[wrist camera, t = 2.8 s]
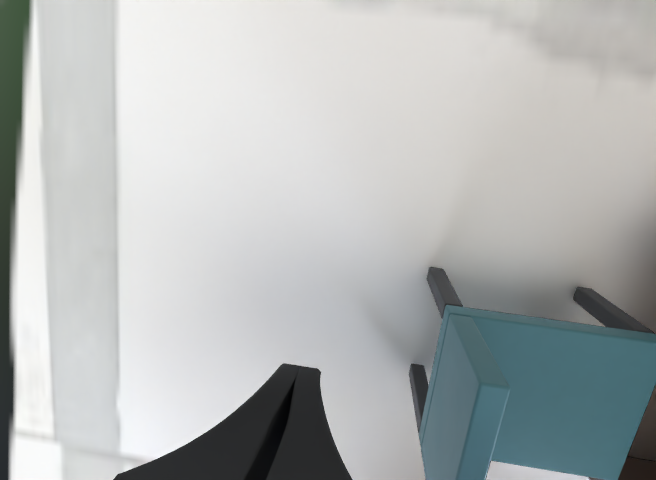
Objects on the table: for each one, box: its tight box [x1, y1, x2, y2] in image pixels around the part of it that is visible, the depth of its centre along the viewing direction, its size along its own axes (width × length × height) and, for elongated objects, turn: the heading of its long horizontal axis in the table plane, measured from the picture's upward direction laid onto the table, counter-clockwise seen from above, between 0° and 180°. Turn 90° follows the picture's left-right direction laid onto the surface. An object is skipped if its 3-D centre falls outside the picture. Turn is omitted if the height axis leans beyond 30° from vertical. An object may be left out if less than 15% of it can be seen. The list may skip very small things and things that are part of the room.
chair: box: [409, 267, 656, 480], centre depth 15 cm, size 8×6×9 cm
